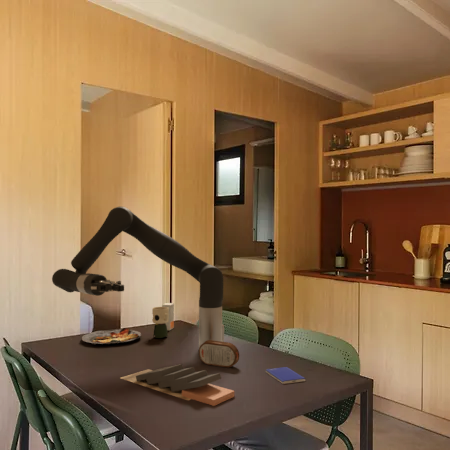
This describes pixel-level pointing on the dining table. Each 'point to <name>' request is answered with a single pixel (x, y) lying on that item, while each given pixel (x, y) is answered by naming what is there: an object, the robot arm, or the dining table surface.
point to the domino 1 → (159, 372)
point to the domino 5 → (209, 394)
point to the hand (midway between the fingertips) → (122, 288)
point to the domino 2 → (171, 376)
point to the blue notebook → (285, 375)
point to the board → (153, 385)
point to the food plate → (112, 336)
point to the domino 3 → (183, 379)
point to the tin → (219, 353)
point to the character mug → (160, 321)
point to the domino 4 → (197, 382)
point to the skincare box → (170, 315)
